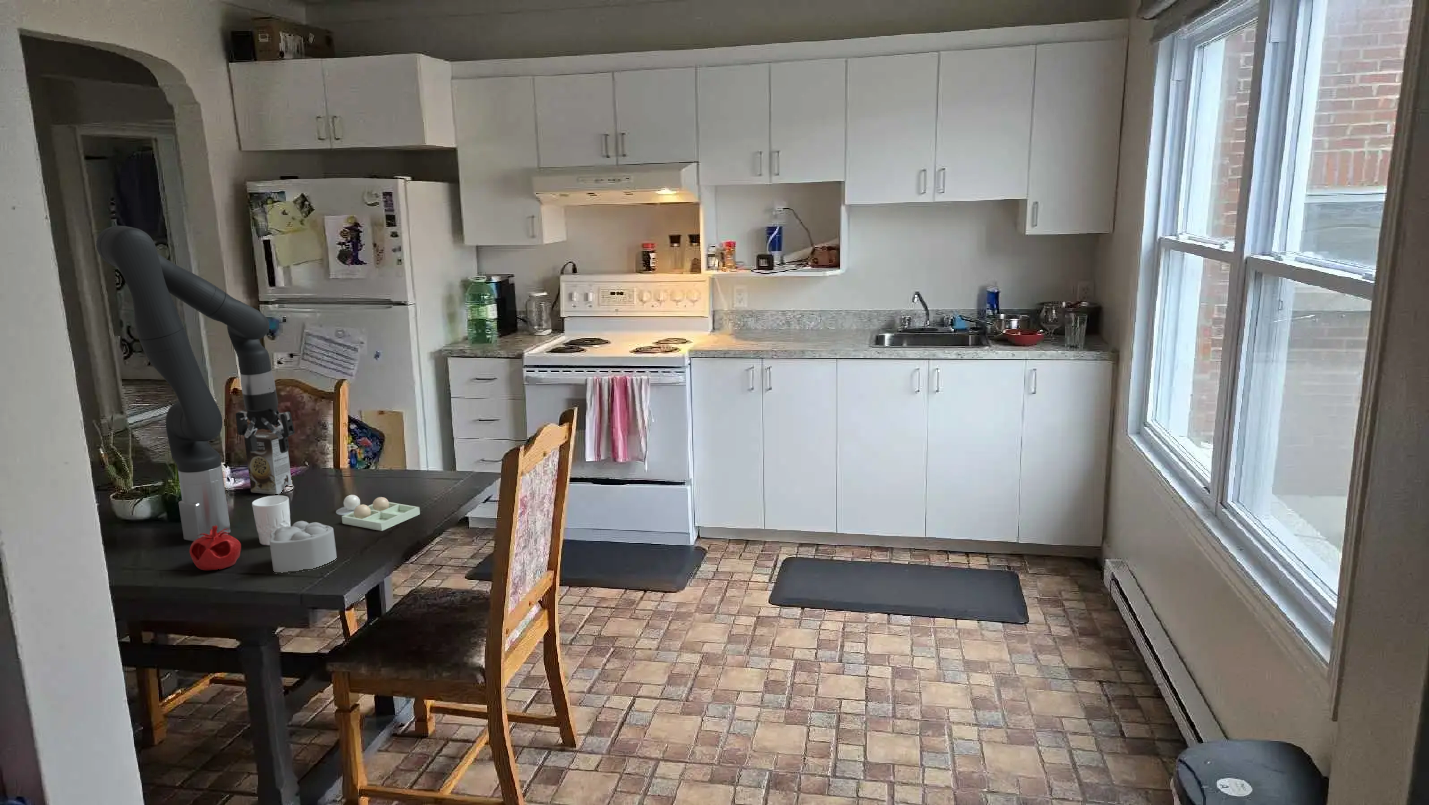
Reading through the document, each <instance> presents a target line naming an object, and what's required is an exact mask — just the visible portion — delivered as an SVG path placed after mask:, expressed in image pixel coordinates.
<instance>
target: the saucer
mask: <svg viewBox="0 0 1429 805" xmlns="http://www.w3.org/2000/svg"><path fill="white" fill-rule="evenodd" d="M352 512H354V510H348V509H346V508H345V506H342V507H340V508H338V509H336V510H335V513H336V514H337V515H339V516H344V515H347V514H349V513H352Z"/></svg>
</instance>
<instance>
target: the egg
mask: <svg viewBox="0 0 1429 805" xmlns="http://www.w3.org/2000/svg"><path fill="white" fill-rule="evenodd" d="M358 505H361V500H360V497H358V496H357V495H355V494H350V495H347V496H346V497H344V499H343V507H345V508H346V509H348V510H354V509H355V508H356V507H357V506H358Z"/></svg>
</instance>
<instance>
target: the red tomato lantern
mask: <svg viewBox="0 0 1429 805" xmlns="http://www.w3.org/2000/svg"><path fill="white" fill-rule="evenodd" d="M212 529H213V530H212ZM212 529H210V530H209V531H210V535H209V534H205V533H202V534H199V535H205V536H203V537H201V538H198V539H196V540H195V541H192V542H191V545H190V547H189V554H190V558H191V559H192V562H193V563H194V565H195V566H196V568H197V569H199V570H201V571H217V570H218V569H219V570H224V569H227V568H230V567H232V566H234V565H235V564H236V563H237V560H238V559H239V558H240V556H241V551H242V543H241V542H240V541H239V540H238V539H237V538H236V537H234V536H232V535H230V533H228V532H222V531H224V530H227V529H223V530H222V531H220V532H218V533H217V525H216V526H212ZM221 532H222V533H221ZM227 534H228V535H227ZM199 535H198V536H199Z"/></svg>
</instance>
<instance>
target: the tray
mask: <svg viewBox="0 0 1429 805" xmlns="http://www.w3.org/2000/svg"><path fill="white" fill-rule="evenodd" d="M420 514H421V510H420V506H415V505H408V504H401V503H396V502H391V501H389V500H388V499H387V498H386V497H382V496H378V497H376V498H375V499H374V500H373V501H372V504H369V505H366V504H361V503H360V505H358V506H357V507H356V508H355V509H354V512H352V513H349V514H347V515H341V521H342V522H341V524H344V525H348V526H353V527H360V528H365V529H370V530H374V531H375V530H376V531H380V532H381V531H382V532H383V531H385V530H387V529H390V528H391V527H393V526H396V525H399V524H400V523H403V522H405V521H407V520H410V519H412V518H414V517H416V518H415V520H416V519H417V520H418V517H417V516H418V515H420ZM408 522H409V521H408ZM408 522H406V523H408ZM398 527H400V525H399V526H397V528H398Z"/></svg>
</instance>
